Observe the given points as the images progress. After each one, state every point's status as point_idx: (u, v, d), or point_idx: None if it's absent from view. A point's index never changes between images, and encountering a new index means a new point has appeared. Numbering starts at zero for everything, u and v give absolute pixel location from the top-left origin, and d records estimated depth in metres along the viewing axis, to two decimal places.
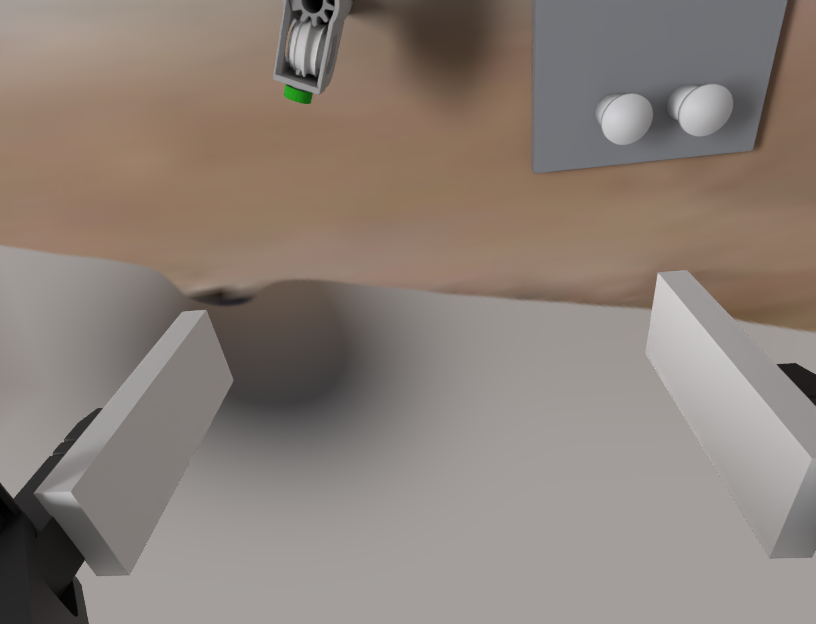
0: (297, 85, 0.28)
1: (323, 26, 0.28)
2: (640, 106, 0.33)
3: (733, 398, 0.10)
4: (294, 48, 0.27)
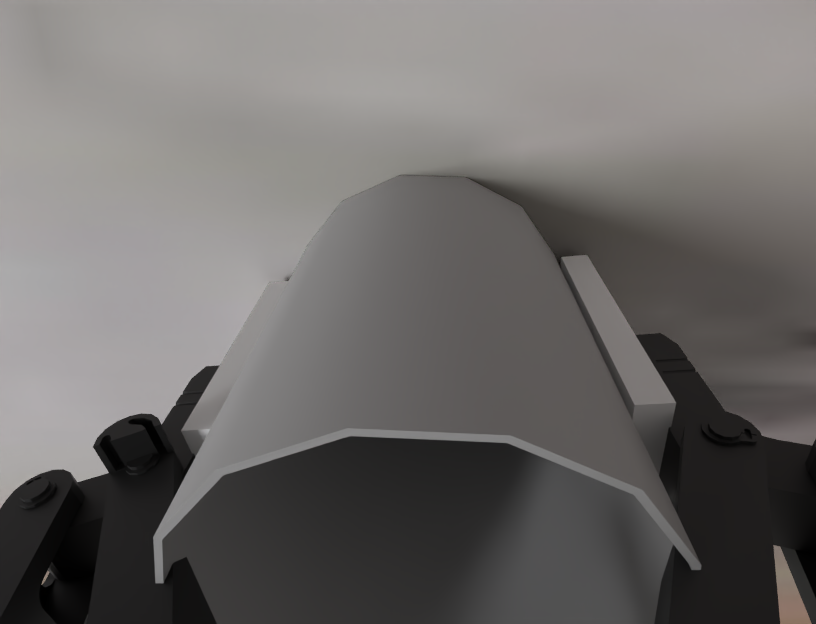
0: None
1: None
2: None
3: None
4: None
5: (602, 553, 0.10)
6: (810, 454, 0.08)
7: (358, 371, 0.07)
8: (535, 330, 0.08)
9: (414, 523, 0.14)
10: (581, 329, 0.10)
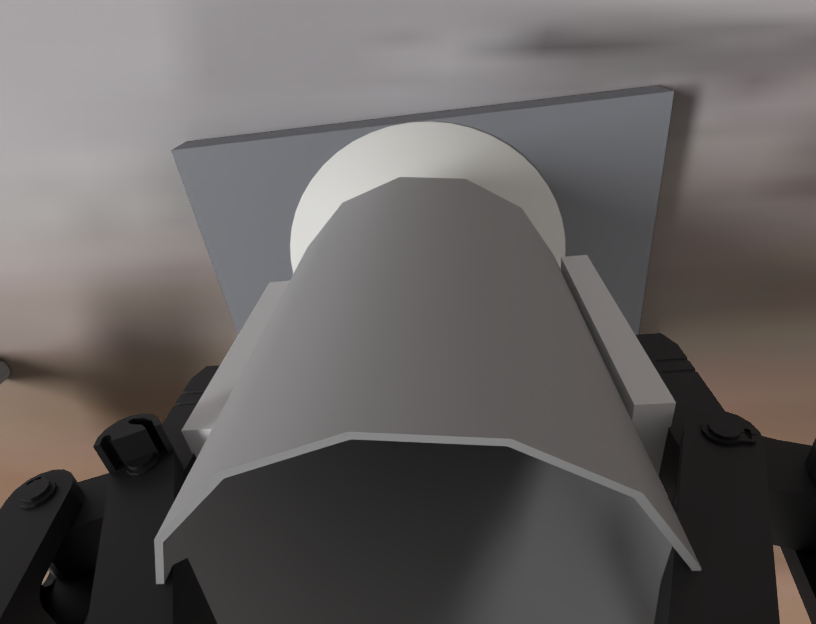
0: None
1: None
2: None
3: None
4: None
5: (602, 555, 0.10)
6: (810, 454, 0.08)
7: (359, 374, 0.07)
8: (535, 332, 0.08)
9: (414, 525, 0.14)
10: (581, 331, 0.10)
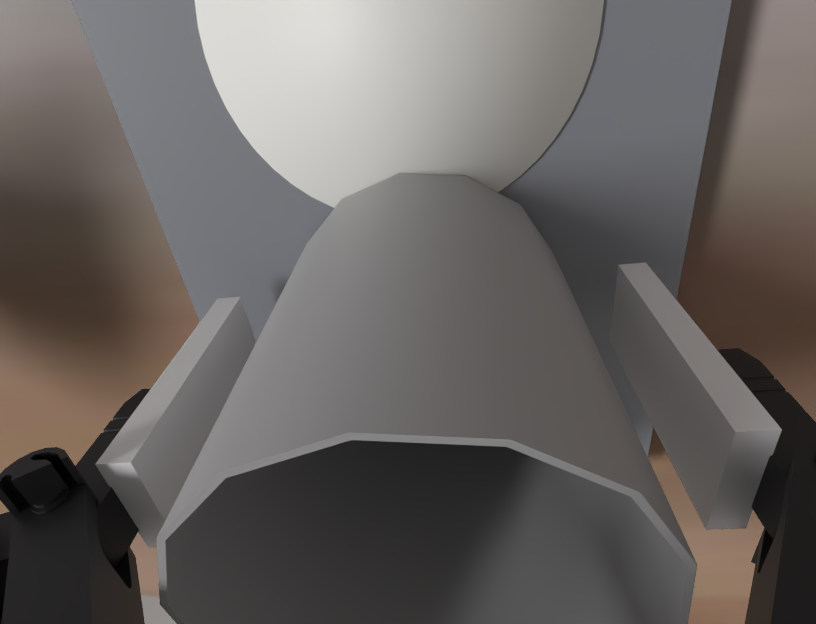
0: None
1: None
2: None
3: (677, 380, 0.11)
4: None
5: (599, 550, 0.10)
6: None
7: (359, 374, 0.07)
8: (534, 332, 0.08)
9: (413, 520, 0.14)
10: (580, 329, 0.10)
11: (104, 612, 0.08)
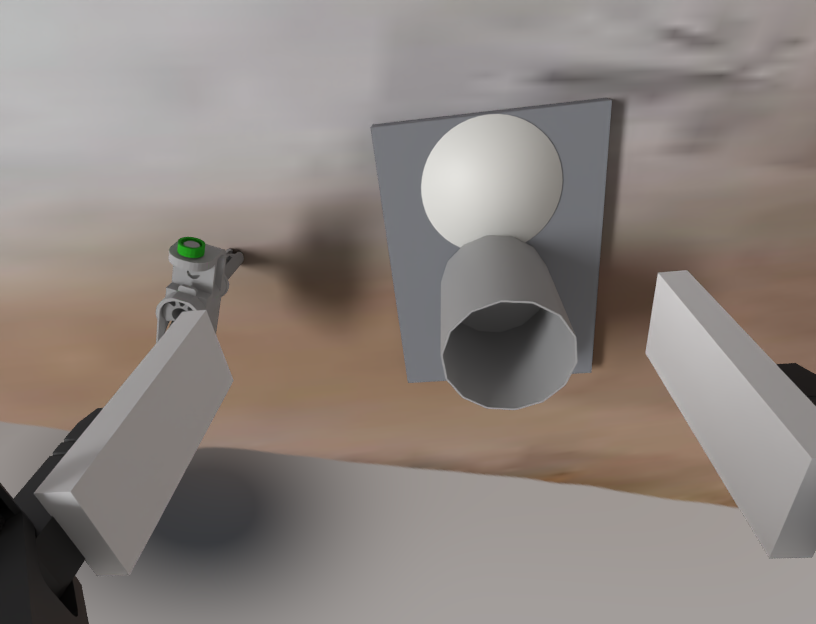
0: None
1: None
2: None
3: (733, 398, 0.10)
4: None
5: (559, 358, 0.33)
6: None
7: (498, 291, 0.30)
8: (538, 285, 0.31)
9: (492, 366, 0.37)
10: (552, 288, 0.33)
11: None
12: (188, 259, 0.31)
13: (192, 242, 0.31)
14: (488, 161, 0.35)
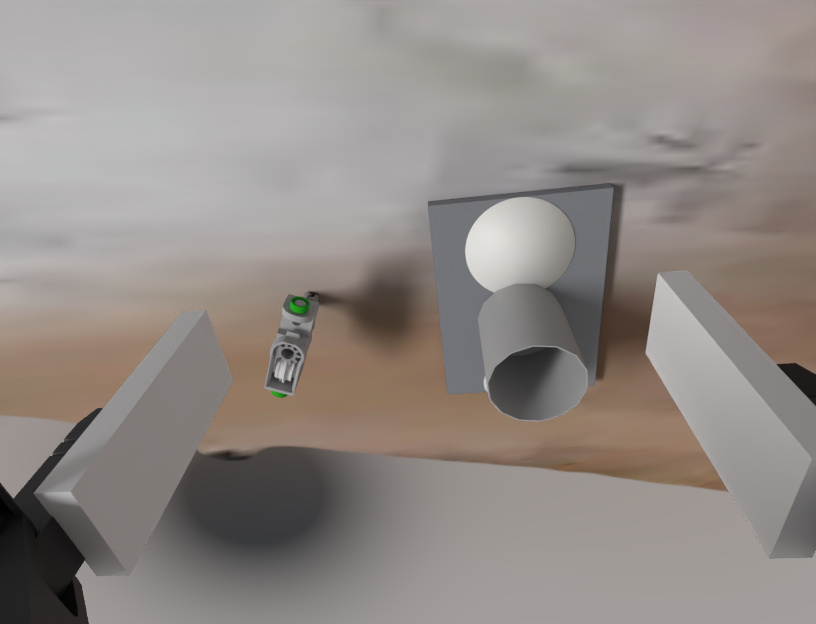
0: (279, 391, 0.45)
1: None
2: None
3: (733, 398, 0.10)
4: (277, 373, 0.45)
5: (573, 382, 0.44)
6: None
7: (530, 337, 0.41)
8: (559, 330, 0.42)
9: (520, 385, 0.48)
10: (568, 330, 0.44)
11: None
12: (298, 314, 0.41)
13: (300, 301, 0.41)
14: (518, 230, 0.45)
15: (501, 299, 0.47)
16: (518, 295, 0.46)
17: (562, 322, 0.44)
